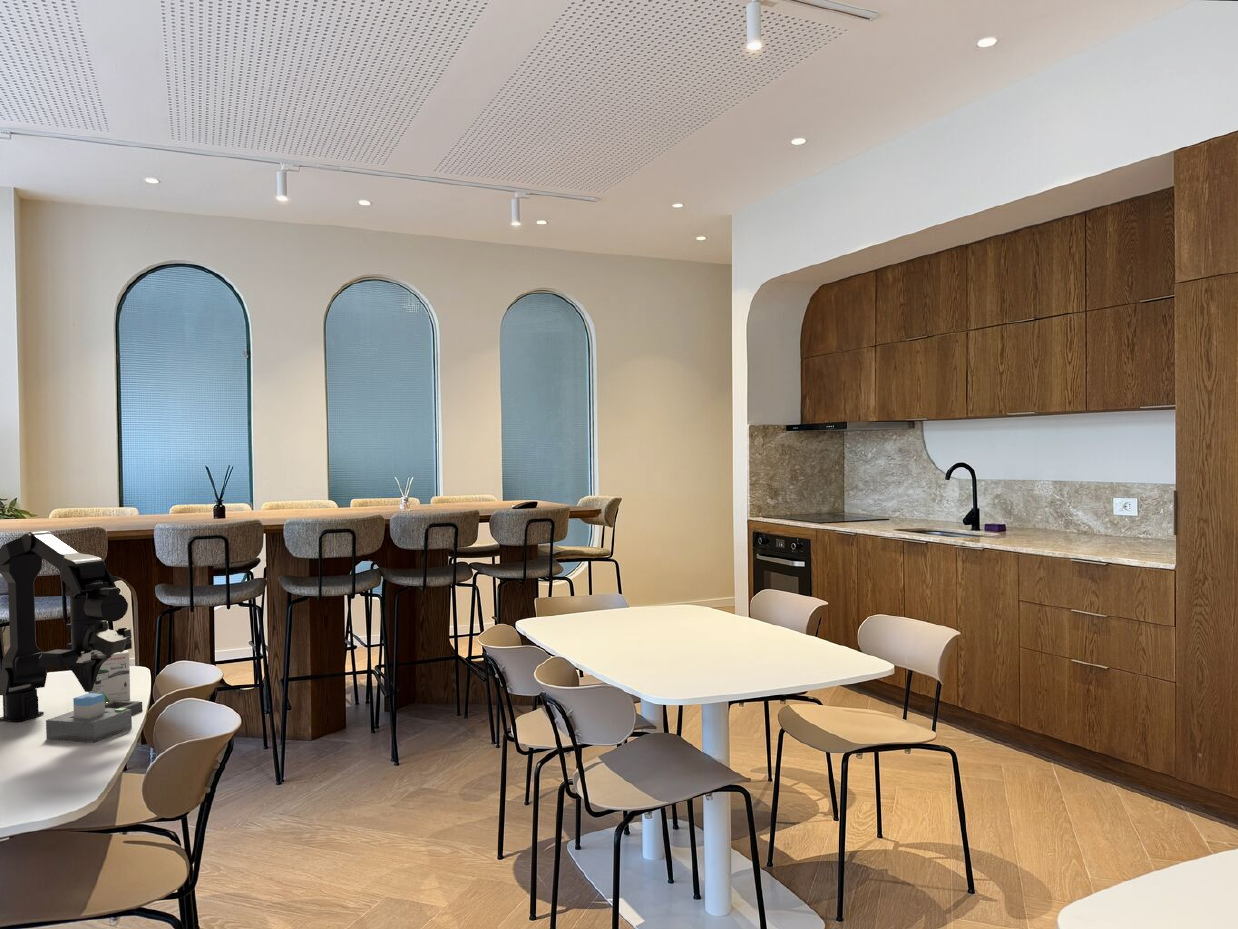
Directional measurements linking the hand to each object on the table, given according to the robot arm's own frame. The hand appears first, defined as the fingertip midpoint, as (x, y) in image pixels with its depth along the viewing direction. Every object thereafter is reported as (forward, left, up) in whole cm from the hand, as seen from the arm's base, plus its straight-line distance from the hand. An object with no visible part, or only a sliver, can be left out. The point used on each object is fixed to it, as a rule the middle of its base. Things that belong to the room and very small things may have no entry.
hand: (88, 691), depth 189 cm
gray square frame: (-6, +13, -9) cm, 17 cm away
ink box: (-17, +23, -9) cm, 30 cm away
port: (0, 0, -9) cm, 9 cm away
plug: (0, 0, -9) cm, 9 cm away
